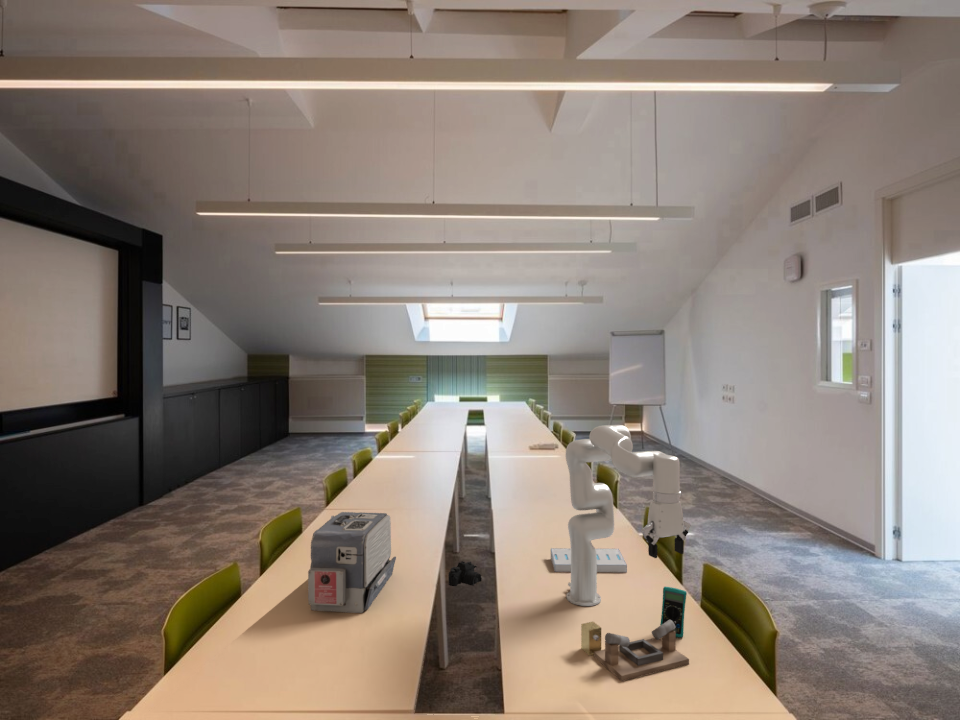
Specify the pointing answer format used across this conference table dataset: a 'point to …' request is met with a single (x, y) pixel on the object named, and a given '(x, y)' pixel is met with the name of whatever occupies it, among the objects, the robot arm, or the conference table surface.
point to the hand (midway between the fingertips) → (666, 554)
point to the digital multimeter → (674, 608)
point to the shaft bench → (641, 653)
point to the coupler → (590, 637)
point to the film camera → (464, 574)
